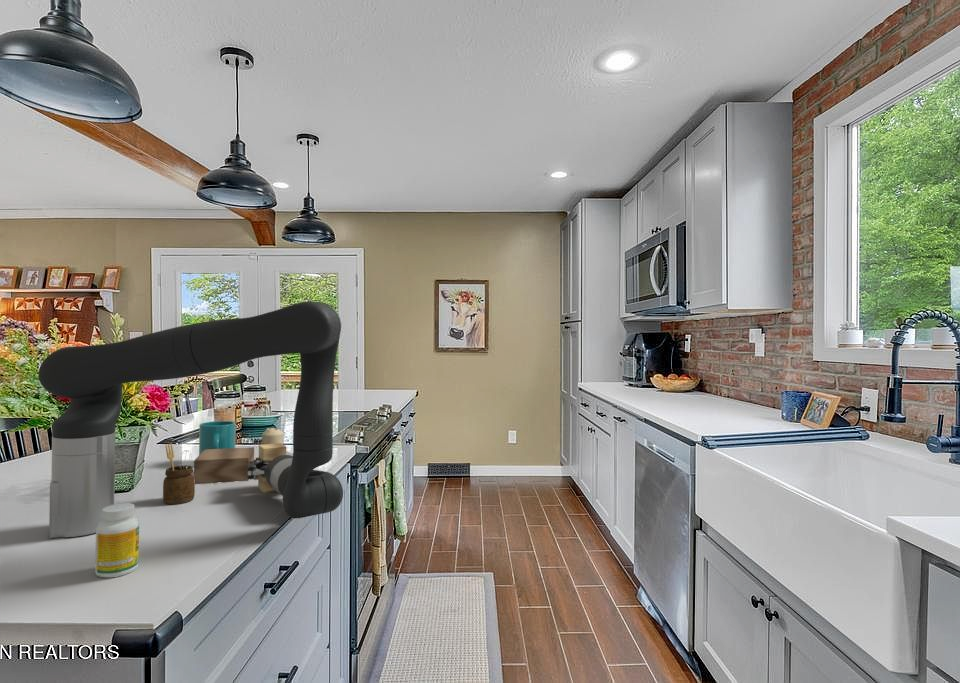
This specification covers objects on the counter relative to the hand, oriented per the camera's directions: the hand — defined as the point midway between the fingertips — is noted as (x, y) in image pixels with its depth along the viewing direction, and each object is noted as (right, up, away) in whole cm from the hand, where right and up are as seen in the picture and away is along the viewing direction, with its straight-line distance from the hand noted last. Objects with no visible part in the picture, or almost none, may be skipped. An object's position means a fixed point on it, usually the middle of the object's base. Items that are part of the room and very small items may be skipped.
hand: (269, 460), depth 125 cm
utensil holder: (-15, -6, -12) cm, 20 cm away
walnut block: (-15, -6, +9) cm, 18 cm away
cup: (-23, -6, +20) cm, 31 cm away
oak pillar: (+1, -6, -2) cm, 7 cm away
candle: (-8, -6, +22) cm, 24 cm away
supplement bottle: (-4, -6, -46) cm, 47 cm away
